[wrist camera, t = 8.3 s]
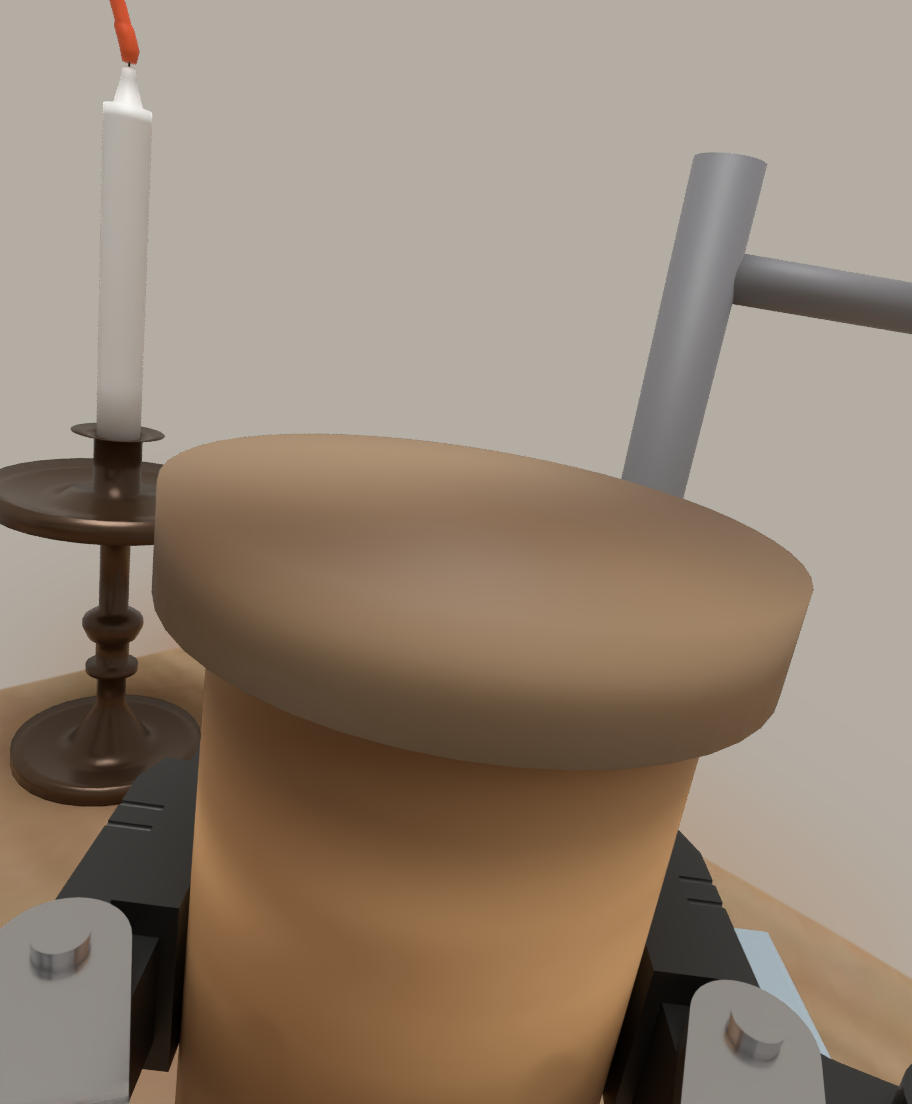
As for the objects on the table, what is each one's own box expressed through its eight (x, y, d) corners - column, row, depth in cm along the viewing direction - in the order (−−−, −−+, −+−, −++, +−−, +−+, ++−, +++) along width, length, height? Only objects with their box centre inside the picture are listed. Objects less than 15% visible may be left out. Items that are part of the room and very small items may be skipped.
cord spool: (30, 1313, 11) (27, 441, 7) (355, 1044, 15) (452, 429, 12) (321, 1880, 7) (596, 735, 4) (629, 1314, 12) (886, 556, 8)
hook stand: (184, 1329, 20) (301, -107, 11) (290, 913, 33) (383, 117, 24) (950, 1398, 21) (1637, 150, 12) (754, 969, 34) (1008, 228, 25)
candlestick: (-54, 810, 36) (-94, -122, 25) (38, 693, 46) (37, -5, 35) (196, 824, 37) (256, -43, 27) (231, 708, 48) (284, 47, 37)
